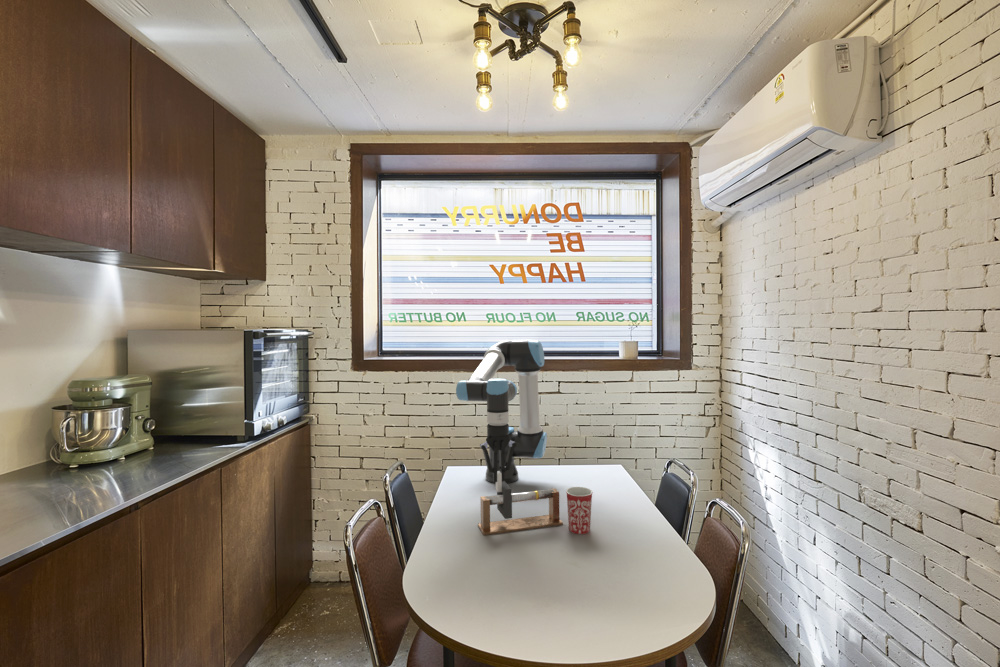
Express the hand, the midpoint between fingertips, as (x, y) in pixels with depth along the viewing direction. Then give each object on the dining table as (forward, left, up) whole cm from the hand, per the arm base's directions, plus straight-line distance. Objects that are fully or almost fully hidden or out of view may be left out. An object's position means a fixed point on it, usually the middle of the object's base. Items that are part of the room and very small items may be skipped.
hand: (498, 490), depth 166 cm
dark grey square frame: (0, +2, -8) cm, 8 cm away
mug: (+8, +27, -13) cm, 31 cm away
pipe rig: (0, +8, -13) cm, 15 cm away
